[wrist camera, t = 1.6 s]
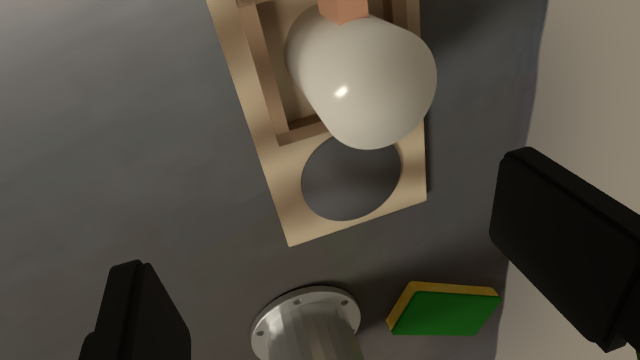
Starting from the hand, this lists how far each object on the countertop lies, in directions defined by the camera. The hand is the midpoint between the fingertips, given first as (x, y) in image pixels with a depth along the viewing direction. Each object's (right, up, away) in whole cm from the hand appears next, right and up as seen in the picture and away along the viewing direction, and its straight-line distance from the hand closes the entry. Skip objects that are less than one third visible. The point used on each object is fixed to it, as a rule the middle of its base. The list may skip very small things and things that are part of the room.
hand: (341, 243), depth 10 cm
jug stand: (+1, +7, +21) cm, 22 cm away
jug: (0, +12, +16) cm, 20 cm away
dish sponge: (+15, -14, +39) cm, 44 cm away
